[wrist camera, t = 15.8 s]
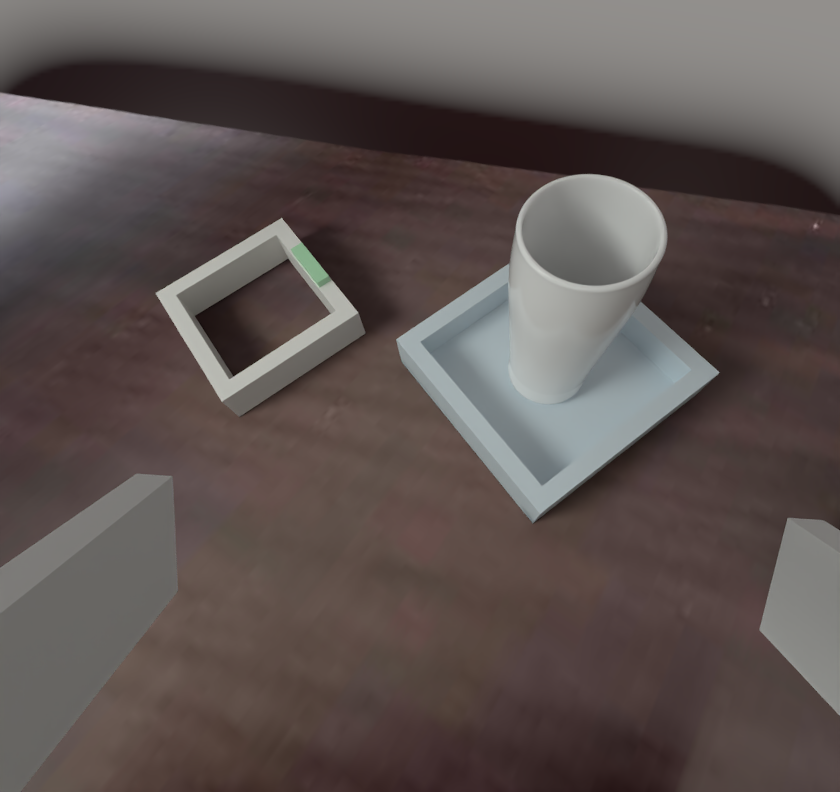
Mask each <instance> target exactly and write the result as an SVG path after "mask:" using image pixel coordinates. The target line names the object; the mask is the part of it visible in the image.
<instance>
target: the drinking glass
mask: <svg viewBox="0 0 840 792" xmlns="http://www.w3.org/2000/svg"><path fill="white" fill-rule="evenodd" d="M666 246H667V227H666V223H665V220H664V217H663V215H662V213H661V211H660V209H659V208H658V206H657V205H656V204H655V203H654V201H653V200H652V199H651V198H650V197H649V196H648V195H646V194H645V193H644V192H643V191H641V190H640V189H638V188H637V187H635V186H633V185H631V184H629V183H627V182H625V181H623V180H620V179H617V178H614V177H609V176H604V175H597V174H580V175H572V176H567V177H563V178H560V179H557V180H555V181H552V182H550V183H548V184H546V185H544V186H543V187H541V188H540V189H538V190H537V191H536V192H535V193H533V194H532V195H531V196H530V197H529V199H528V200H527V201H526V202H525V204H524V205H523V207H522V209H521V211H520V213H519V215H518V219H517V223H516V228H515V233H514V238H513V244H512V250H511V256H510V264H509V277H508V308H509V361H508V373H509V378H510V380H511V383H512V384H513V386H514V388H515V389H516V390H517V391H518V392H519V393H520V394H521V395H522V396H523V397H525V398H526V399H528V400H530V401H532V402H535V403H539V404H557V403H561V402H564V401H566V400H568V399H570V398H571V397H573V396H574V395H575V394H576V393H577V392H578V391H579V390H580V388H581V387H582V385H583V383H584V381H585V379H586V377H587V376H588V374H589V373H590V372H591V370H592V369H593V367H594V366H595V365H596V363H597V362H598V361H599V359H600V358H601V357H602V355H603V354H604V353H605V351H606V350H607V348H608V347H609V346H610V345H611V343H612V342H613V341H614V339H615V338H616V337H617V335H618V334H619V333H620V331H621V330H622V329H623V327H624V326H625V325H626V323H627V322H628V320H629V319H630V318H631V316H632V315H633V313H634V312H635V310H636V308H637V307H638V305H639V303H640V302H641V300H642V298H643V297H644V295H645V293H646V291H647V289H648V287H649V285H650V283H651V281H652V279H653V277H654V275H655V273H656V271H657V268H658V266H659V264H660V261H661V260H662V258H663V255H664V253H665V250H666Z"/></svg>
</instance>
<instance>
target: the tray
mask: <svg viewBox="0 0 840 792" xmlns="http://www.w3.org/2000/svg"><path fill="white" fill-rule="evenodd" d="M509 264H510V263H509ZM509 264H508V265H506V266H505V267H503V268H502V269H500V270H499V271H497V272H496V273H494V274H493V275H491V276H490V277H488V278H487V279H485V280H484V281H482V282H481V283H479V284H478V285H477V286H475V287H474V288H472V289H471V290H469V291H468V292H466V293H465V294H463V295H462V296H460V297H459V298H457V299H456V300H454V301H453V302H451V303H450V304H448V305H447V306H445V307H444V308H442V309H441V310H439V311H438V312H436V313H435V314H433V315H432V316H430V317H429V318H427V319H426V320H424V321H423V322H421V323H420V324H418V325H417V326H415V327H414V328H412V329H411V330H410V331H408V332H407V333H405V334H404V335H402V336H401V337H399V338H398V339H396V341H397V345H398V349H399V353H400V357H401V361H402V363H403V364H404V365H405V367H406V368H407V369H408V370H409V371H410V373H411V374H412V375H413V376H414V378H415V379H416V380H417V381H418V383H419V384H420V385H421V386H422V387H423V389H424V390H425V391H426V392H427V394H428V395H429V396H430V397H431V399H432V400H433V401H434V402H435V403H436V405H437V406H438V407H439V408H440V410H441V411H442V412H443V413H444V415H445V416H446V417H447V418H448V419H449V421H450V422H451V423H452V424H453V426H454V427H455V428H456V429H457V431H458V432H459V433H460V434H461V435H462V437H463V438H464V439H465V440H466V442H467V443H468V444H469V445H470V447H471V448H472V449H473V450H474V451H475V453H476V454H477V455H478V456H479V458H480V459H481V460H482V461H483V463H484V464H485V465H486V466H487V467H488V469H489V470H490V471H491V472H492V474H493V475H494V476H495V477H496V479H497V480H498V481H499V482H500V483H501V485H502V486H503V487H504V488H505V490H506V491H507V492H508V493H509V495H510V496H511V497H512V498H513V499H514V501H515V502H516V503H517V504H518V506H519V507H520V508H521V509H522V511H523V512H524V513H525V514H526V515H527V517H528V518H529V519H530V520H531V522H532V523H534V522H535V521H537V520H538V519H539V518H540V517H542V516H543V515H544V514H546V513H547V512H548V511H549V510H551V509H552V508H553V507H554V506H556V505H557V504H558V503H559V502H561V501H562V500H563V499H565V498H566V497H567V496H568V495H570V494H571V493H572V492H573V491H575V490H576V489H577V488H578V487H580V486H581V485H582V484H584V483H585V482H586V481H587V480H589V479H590V478H591V477H592V476H594V475H595V474H596V473H598V472H599V471H600V470H601V469H603V468H604V467H605V466H606V465H608V464H609V463H610V462H611V461H613V460H614V459H615V458H617V457H618V456H619V455H620V454H622V453H623V452H624V451H625V450H627V449H628V448H629V447H630V446H632V445H633V444H634V443H636V442H637V441H638V440H639V439H641V438H642V437H643V436H644V435H646V434H647V433H648V432H650V431H651V430H652V429H653V428H655V427H656V426H657V425H658V424H660V423H661V422H662V421H663V420H665V419H666V418H667V417H669V416H670V415H671V414H672V413H674V412H675V411H676V410H677V409H679V408H680V407H681V406H682V405H684V404H685V403H686V402H688V401H689V400H690V399H691V398H693V397H694V396H695V395H696V394H698V393H699V392H700V391H701V390H702V389H703V388H704V387H705V386H706V385H707V384H708V383H709V382H710V381H711V380H712V379H714V378H715V377H716V376H717V375H718V374H719V373H720V372H718V371H717V370H716V369H715V368H714V367H713V366H712V365H711V364H710V363H708V362H707V361H706V360H705V359H704V358H703V357H702V356H701V355H700V354H698V353H697V352H696V351H695V350H694V349H693V348H692V347H691V346H690V345H688V344H687V343H686V342H685V341H684V340H683V339H682V338H681V337H680V336H678V335H677V334H676V333H675V332H674V331H673V330H672V329H671V328H670V327H668V326H667V325H666V324H665V323H664V322H663V321H662V320H661V319H659V318H658V317H657V316H656V315H655V314H654V313H653V312H652V311H651V310H649V309H648V308H647V307H646V306H645V305H644V304H643V303H642V302H640V303H639V305H638V307H637V308H636V310H635V312H634V313H633V315H632V316H631V318H630V319H629V320H628V322H627V323H626V325H625V326H624V327H623V329H622V330H621V331H620V333H619V334H618V335H617V337H616V338H615V339H614V341H613V342H612V343H611V345H610V346H609V347H608V348H607V350H606V351H605V353H604V354H603V355H602V357H601V358H600V359H599V361H598V362H597V363H596V365H595V366H594V367H593V369H592V370H591V372H590V373H589V374H588V376H587V377H586V379H585V381H584V383H583V385H582V387H581V388H580V390H579V391H578V392H577V393H576V394H575V395H574V396H573V397H571V398H570V399H568V400H566V401H564V402H561V403H557V404H539V403H535V402H532V401H530V400H528V399H526V398H525V397H523V396H522V395H521V394H520V393H519V392H518V391H517V390H516V389H515V388H514V386H513V384H512V383H511V380H510V378H509V373H508V361H509V308H508V277H509Z"/></svg>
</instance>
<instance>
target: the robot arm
mask: <svg viewBox="0 0 840 792" xmlns="http://www.w3.org/2000/svg"><path fill="white" fill-rule="evenodd" d="M177 592H178V582H177V560H176V539H175V517H174V496H173V476H161V475H146V474H136V475H134V476H133V477H131V478H130V479H128V480H127V481H125V482H124V483H123V484H121V485H120V486H118V487H117V488H115V489H114V490H112V491H111V492H109V493H108V494H107V495H105V496H104V497H102V498H101V499H99V500H98V501H96V502H95V503H94V504H92V505H91V506H89V507H88V508H86V509H85V510H83V511H82V512H80V513H79V514H78V515H76V516H75V517H73V518H72V519H70V520H69V521H67V522H66V523H65V524H63V525H62V526H60V527H59V528H57V529H56V530H54V531H53V532H51V533H50V534H49V535H47V536H46V537H44V538H43V539H41V540H40V541H38V542H37V543H35V544H34V545H33V546H31V547H30V548H28V549H27V550H25V551H24V552H22V553H21V554H20V555H18V556H17V557H15V558H14V559H12V560H11V561H9V562H8V563H6V564H5V565H4V566H2V567H1V568H0V792H21V790H22V789H23V788H24V787H25V785H26V784H27V783H28V781H29V780H30V779H31V778H32V776H33V775H34V774H35V773H36V771H37V770H38V769H39V767H40V766H41V765H42V764H43V762H44V761H45V760H46V759H47V757H48V756H49V755H50V753H51V752H52V751H53V750H54V748H55V747H56V746H57V745H58V743H59V742H60V741H61V739H62V738H63V737H64V736H65V734H66V733H67V732H68V730H69V729H70V728H71V727H72V725H73V724H74V723H75V722H76V720H77V719H78V718H79V716H80V715H81V714H82V713H83V711H84V710H85V709H86V708H87V706H88V705H89V704H90V702H91V701H92V700H93V699H94V697H95V696H96V695H97V694H98V692H99V691H100V690H101V688H102V687H103V686H104V685H105V683H106V682H107V681H108V680H109V678H110V677H111V676H112V674H113V673H114V672H115V671H116V669H117V668H118V667H119V665H120V664H121V663H122V662H123V660H124V659H125V658H126V657H127V655H128V654H129V653H130V651H131V650H132V649H133V648H134V646H135V645H136V644H137V643H138V641H139V640H140V639H141V637H142V636H143V635H144V634H145V632H146V631H147V630H148V629H149V627H150V626H151V625H152V623H153V622H154V621H155V620H156V618H157V617H158V616H159V614H160V613H161V612H162V611H163V609H164V608H165V607H166V606H167V604H168V603H169V602H170V600H171V599H172V598H173V597H174V595H175V594H176V593H177ZM760 631H761V632H762V633H763V634H764V635H765V636H766V637H767V638H768V640H769V641H770V642H771V643H772V644H773V645H774V646H775V647H776V648H777V649H778V650H779V651H780V652H781V653H782V654H783V656H784V657H785V658H786V659H787V660H788V661H789V662H790V663H791V664H792V665H793V666H794V667H795V668H796V669H797V671H798V672H799V673H800V674H801V675H802V676H803V677H804V678H805V679H806V680H807V681H808V682H809V683H810V684H811V686H812V687H813V688H814V689H815V690H816V691H817V692H818V693H819V694H820V695H821V696H822V697H823V698H824V699H825V700H826V702H827V703H828V704H829V705H830V706H831V707H832V708H833V709H834V710H835V711H836V712H837V713H838V714H839V715H840V530H838V529H837V528H835V527H834V526H832V525H830V524H829V523H827V522H825V521H824V520H813V519H798V518H788V519H787V523H786V527H785V530H784V534H783V538H782V542H781V546H780V550H779V554H778V558H777V562H776V566H775V570H774V574H773V578H772V582H771V586H770V590H769V594H768V598H767V602H766V606H765V610H764V614H763V618H762V622H761V626H760Z"/></svg>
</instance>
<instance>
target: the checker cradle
mask: <svg viewBox="0 0 840 792" xmlns="http://www.w3.org/2000/svg"><path fill="white" fill-rule="evenodd" d="M287 259H289V260H290V262H291V263H292V264H293V266H294V267H295V268H296V269H297V271H298V272H299V273H300V275H301V276H302V277H303V278H304V280H305V281H306V282H307V284H308V285H309V286H310V287H311V289H312V290H313V291H314V292H315V294H316V295H317V296H318V298H319V299H320V300H321V301H322V303H323V304H324V305H325V307H326V308H327V309H328V310H329V312H330V313H331V314H330V315H329V316H327V317H325V318H324V319H322V320H321V321H319V322H318V323H316V324H315V325H313V326H311V327H310V328H308V329H307V330H305V331H304V332H302V333H301V334H299V335H297V336H296V337H294V338H293V339H291V340H290V341H288V342H287V343H285V344H284V345H282V346H280V347H279V348H277V349H276V350H274V351H273V352H271V353H270V354H268V355H266V356H265V357H263V358H262V359H260V360H259V361H257V362H256V363H254V364H253V365H251V366H249V367H248V368H246V369H245V370H243V371H242V372H240V373H239V374H237V375H235V376H234V377H233V375H232V374H231V372H230V370H229V369H228V367H227V366H226V364H225V363H224V361H223V359H222V358H221V356H220V355H219V353H218V352H217V350H216V348H215V347H214V345H213V344H212V342H211V341H210V339H209V338H208V336H207V334H206V333H205V331H204V330H203V328H202V327H201V325H200V323H199V322H198V320H197V319H196V317H195V315H197V314H199V313H200V312H202V311H204V310H205V309H207V308H209V307H210V306H212V305H213V304H215V303H217V302H218V301H220V300H222V299H223V298H225V297H226V296H228V295H230V294H231V293H233V292H235V291H236V290H238V289H240V288H241V287H243V286H244V285H246V284H248V283H249V282H251V281H253V280H254V279H256V278H257V277H259V276H261V275H262V274H264V273H266V272H267V271H269V270H271V269H272V268H274V267H275V266H277V265H279V264H280V263H282V262H284V261H285V260H287ZM156 295H157V296H158V298H159V300H160V301H161V303H162V304H163V306H164V308H165V309H166V311H167V313H168V314H169V316H170V318H171V319H172V321H173V322H174V324H175V326H176V327H177V329H178V331H179V332H180V334H181V336H182V337H183V339H184V340H185V342H186V344H187V345H188V347H189V349H190V350H191V352H192V353H193V355H194V357H195V358H196V360H197V362H198V363H199V365H200V367H201V368H202V370H203V371H204V373H205V375H206V376H207V378H208V380H209V381H210V383H211V385H212V386H213V388H214V389H215V391H216V393H217V394H218V396H219V398H220V399H221V401H222V402H223V403H224V404H225V405H226V406H228V407H229V408H230V409H231V410H232V411H233V412H234V413H236V414H237V415H238V416H239V417H240V416H241V415H243V414H244V413H246V412H247V411H249V410H250V409H252V408H254V407H255V406H257V405H258V404H260V403H261V402H263V401H264V400H266V399H267V398H269V397H270V396H272V395H273V394H275V393H276V392H278V391H279V390H281V389H282V388H284V387H285V386H287V385H288V384H290V383H291V382H293V381H294V380H296V379H297V378H299V377H300V376H302V375H303V374H305V373H306V372H308V371H309V370H311V369H312V368H314V367H316V366H317V365H319V364H320V363H322V362H323V361H325V360H326V359H328V358H329V357H331V356H332V355H334V354H335V353H337V352H338V351H340V350H341V349H343V348H344V347H346V346H347V345H349V344H350V343H352V342H353V341H355V340H356V339H358V338H359V337H361V336H362V335H364V334H365V330H364V327H363V324H362V322H361V319H360V316H359V313H358V312H357V310H356V309H355V308H354V307H353V306H352V304H351V303H350V302H349V301H348V299H347V298H346V297H345V296H344V294H343V293H342V292H341V291H340V289H339V288H338V287H337V286H336V285H335V283H334V282H333V281H332V280H331V278H330V277H329V276H328V274H327V273H326V272H325V271H324V269H323V268H322V267H321V266H320V264H319V263H318V262H317V261H316V259H315V258H314V257H313V256H312V255H311V253H310V252H309V251H308V250H307V248H306V247H305V246H304V245H303V243H302V242H301V241H300V240H299V239H298V238H297V236H296V235H295V234H294V233H293V231H292V230H291V229H290V228H289V226H288V225H287V224H286V223H285V221H284V220H283V219H282V218H281V219H279V220H278V221H276V222H274V223H273V224H271V225H269V226H268V227H266V228H264V229H263V230H261V231H259V232H258V233H256V234H254V235H253V236H251V237H249V238H248V239H246V240H244V241H243V242H241V243H239V244H237V245H236V246H234V247H232V248H231V249H229V250H227V251H226V252H224V253H222V254H221V255H219V256H217V257H216V258H214V259H212V260H211V261H209V262H207V263H206V264H204V265H202V266H201V267H199V268H197V269H196V270H194V271H192V272H190V273H189V274H187V275H185V276H184V277H182V278H180V279H179V280H177V281H175V282H174V283H172V284H170V285H169V286H167V287H165V288H164V289H162V290H160V291H159V292H157V293H156Z"/></svg>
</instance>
